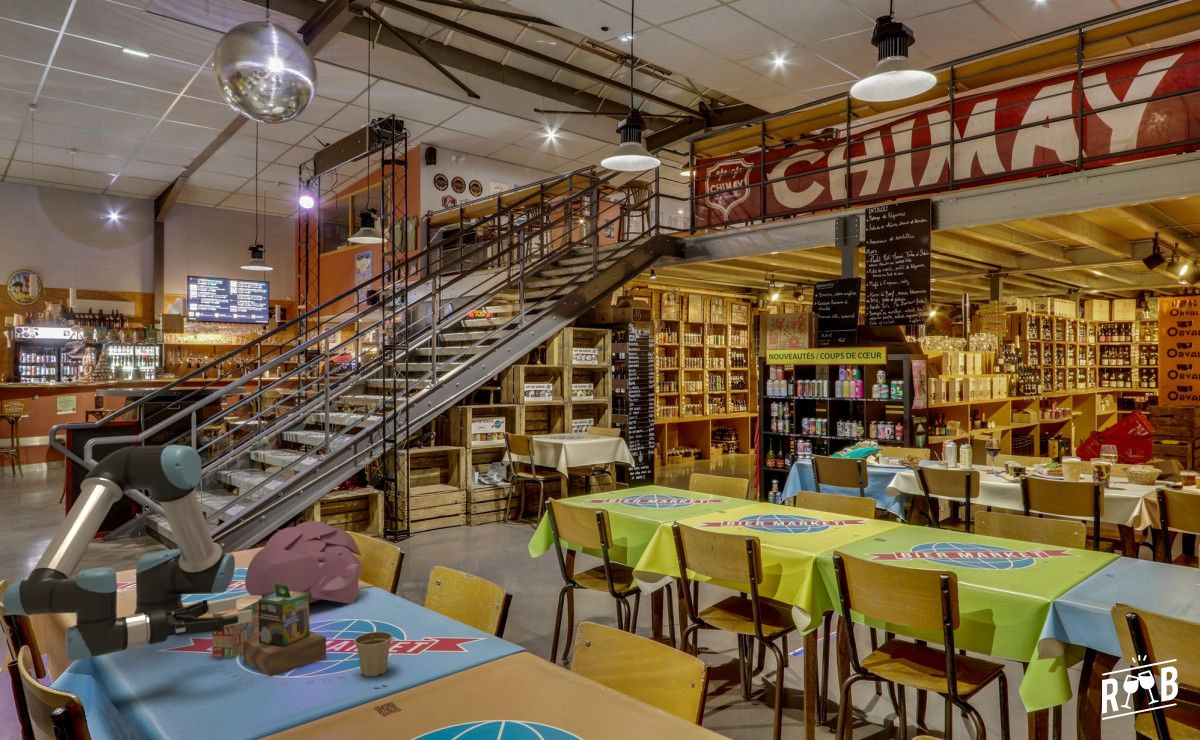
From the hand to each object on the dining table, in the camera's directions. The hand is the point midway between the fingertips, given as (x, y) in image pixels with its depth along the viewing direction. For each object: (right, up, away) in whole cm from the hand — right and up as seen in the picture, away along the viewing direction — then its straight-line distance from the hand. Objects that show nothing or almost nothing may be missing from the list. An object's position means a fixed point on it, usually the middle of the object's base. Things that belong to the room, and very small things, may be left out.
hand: (243, 609), depth 183 cm
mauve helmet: (-5, -17, +56) cm, 58 cm away
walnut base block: (+8, -16, +7) cm, 19 cm away
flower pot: (+34, -15, -2) cm, 38 cm away
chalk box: (+8, -10, +6) cm, 14 cm away
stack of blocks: (-9, -17, +19) cm, 27 cm away
